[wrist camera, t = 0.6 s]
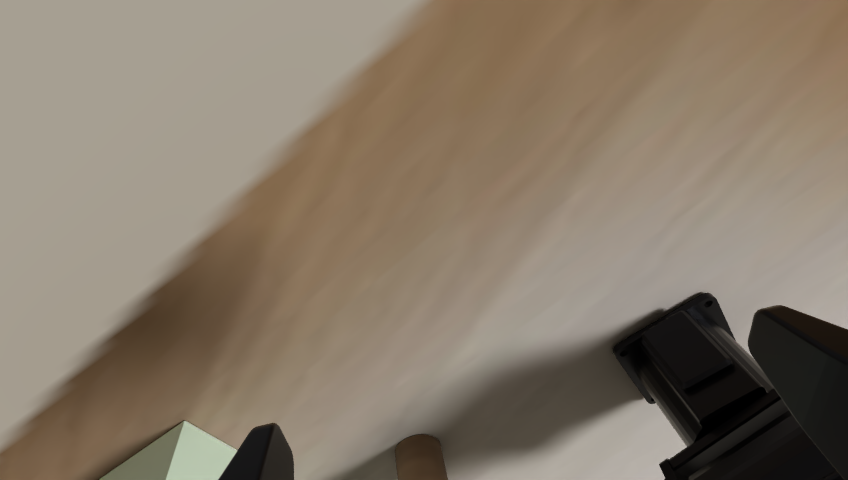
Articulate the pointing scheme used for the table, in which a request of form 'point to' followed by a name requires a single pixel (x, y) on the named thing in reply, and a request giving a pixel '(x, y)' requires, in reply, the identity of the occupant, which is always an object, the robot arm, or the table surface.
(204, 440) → the hole block
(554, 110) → the table surface
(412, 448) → the peg
